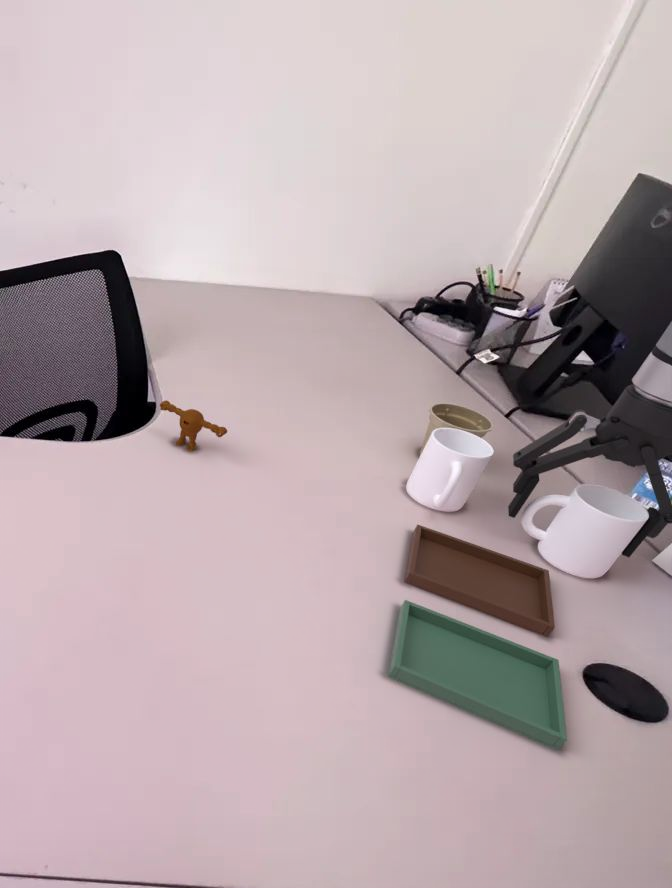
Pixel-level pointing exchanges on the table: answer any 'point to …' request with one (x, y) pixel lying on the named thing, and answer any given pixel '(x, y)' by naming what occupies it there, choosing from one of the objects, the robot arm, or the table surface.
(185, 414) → the toy figurine
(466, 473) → the cup
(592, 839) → the table surface
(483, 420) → the flower pot
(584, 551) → the mug
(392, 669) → the green tray
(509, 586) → the walnut tray
